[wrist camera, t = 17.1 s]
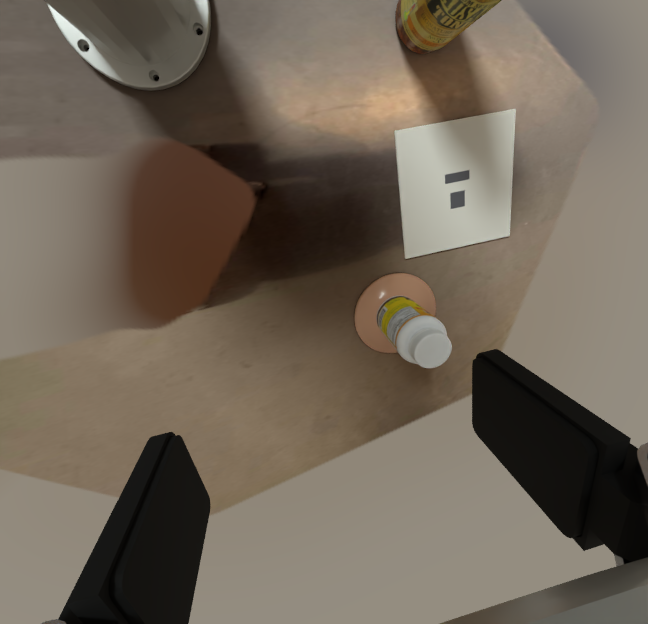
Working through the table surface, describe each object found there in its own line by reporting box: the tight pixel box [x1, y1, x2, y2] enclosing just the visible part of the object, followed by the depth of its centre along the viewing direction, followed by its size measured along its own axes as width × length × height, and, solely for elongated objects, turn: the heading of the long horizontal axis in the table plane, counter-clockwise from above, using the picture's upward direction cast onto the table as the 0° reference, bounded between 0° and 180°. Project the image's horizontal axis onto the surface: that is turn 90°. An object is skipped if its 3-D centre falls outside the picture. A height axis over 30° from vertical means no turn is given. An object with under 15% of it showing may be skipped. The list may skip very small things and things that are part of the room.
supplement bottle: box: [376, 296, 452, 368], centre depth 35 cm, size 6×6×10 cm
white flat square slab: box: [394, 109, 516, 259], centre depth 36 cm, size 14×14×1 cm
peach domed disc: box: [354, 273, 436, 353], centre depth 40 cm, size 11×11×1 cm
